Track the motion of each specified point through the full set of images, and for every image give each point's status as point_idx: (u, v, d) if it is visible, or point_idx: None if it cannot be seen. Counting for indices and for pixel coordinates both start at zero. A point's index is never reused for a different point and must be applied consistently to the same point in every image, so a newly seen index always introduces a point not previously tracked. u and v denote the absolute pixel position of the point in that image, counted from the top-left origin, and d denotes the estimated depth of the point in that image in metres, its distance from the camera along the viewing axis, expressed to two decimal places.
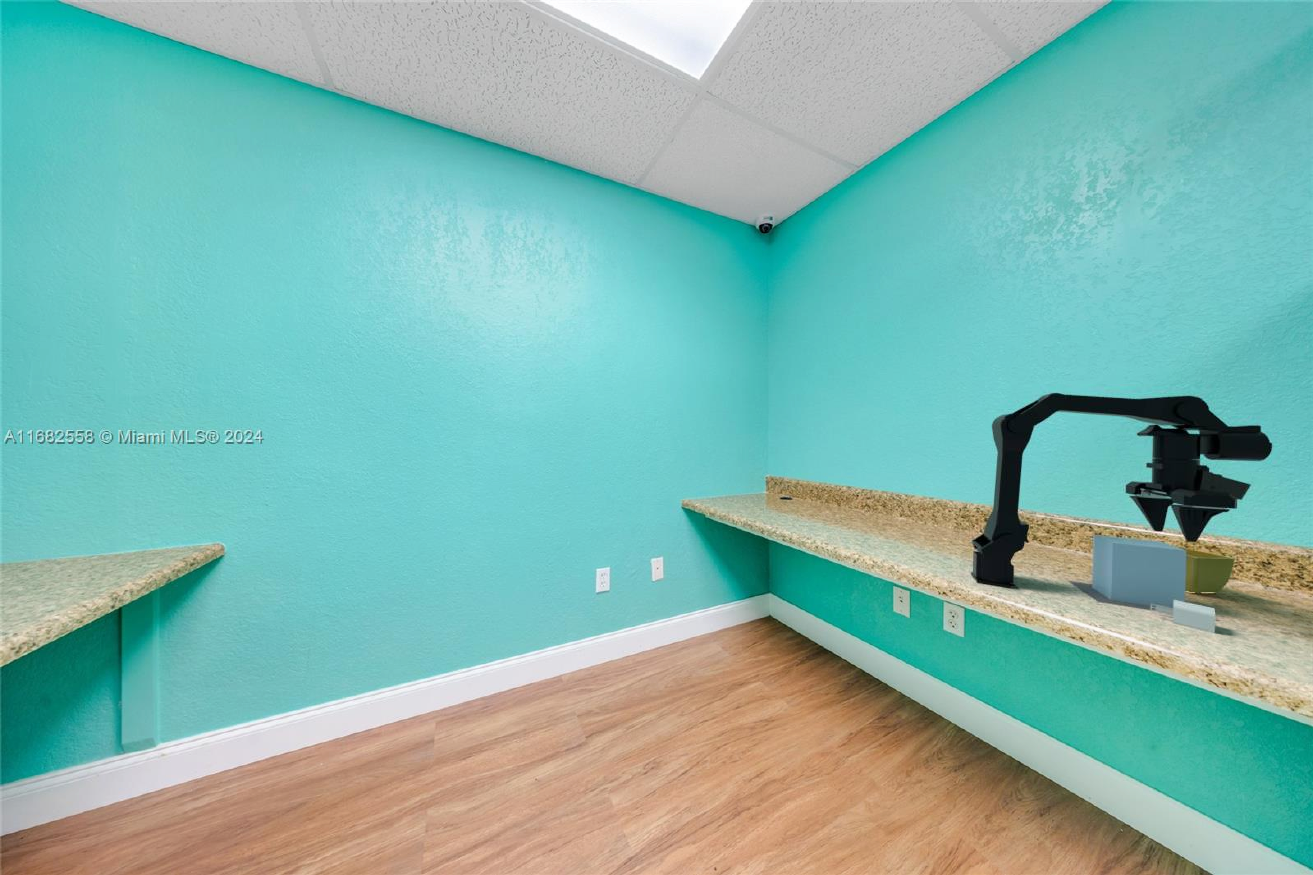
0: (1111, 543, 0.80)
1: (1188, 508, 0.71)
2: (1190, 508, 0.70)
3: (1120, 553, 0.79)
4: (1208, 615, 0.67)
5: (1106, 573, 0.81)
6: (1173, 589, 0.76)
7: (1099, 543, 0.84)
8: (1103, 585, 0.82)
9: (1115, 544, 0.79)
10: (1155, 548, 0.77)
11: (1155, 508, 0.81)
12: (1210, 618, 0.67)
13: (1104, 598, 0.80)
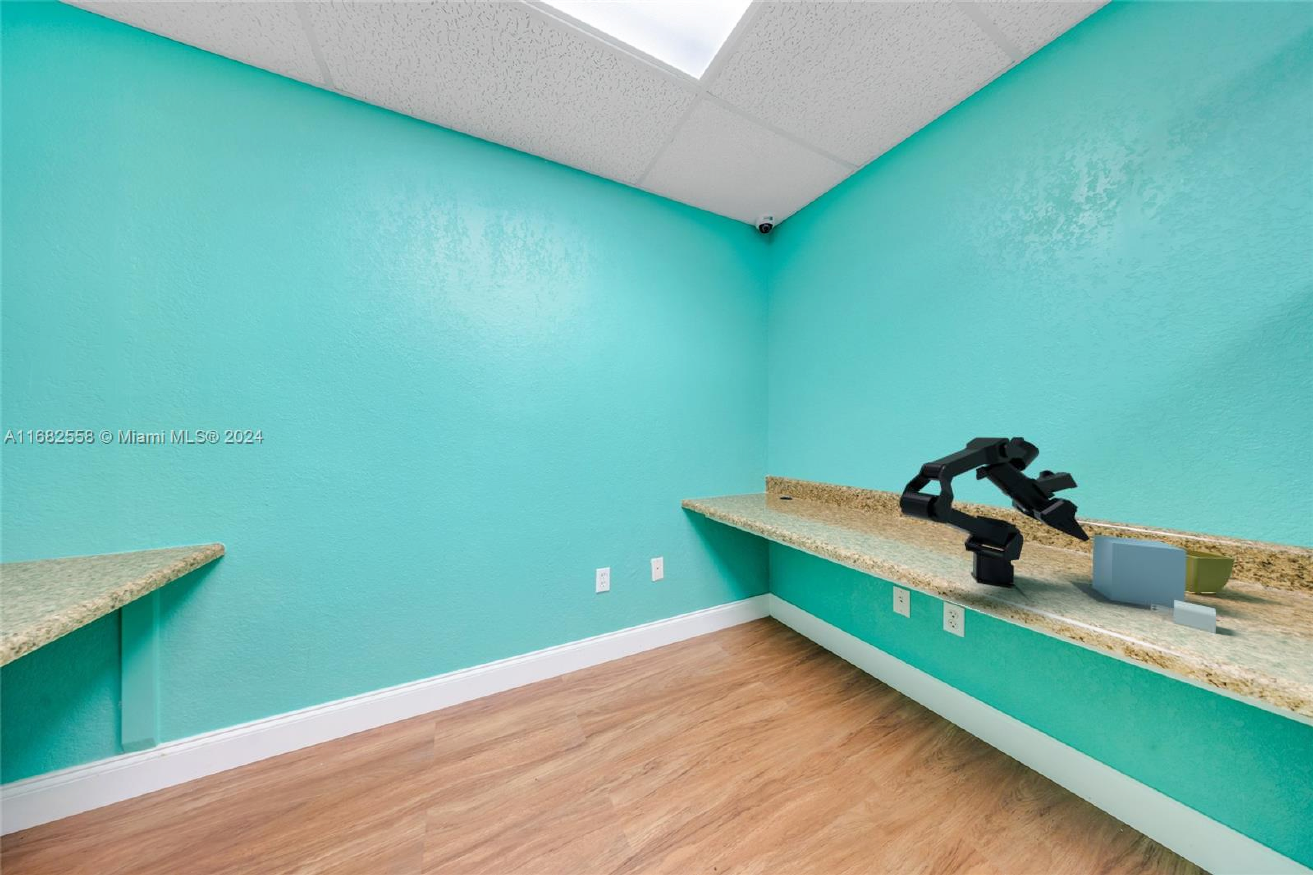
0: (1111, 543, 0.80)
1: (1054, 524, 0.81)
2: (1055, 523, 0.80)
3: (1120, 553, 0.79)
4: (1209, 615, 0.67)
5: (1106, 573, 0.81)
6: (1173, 589, 0.76)
7: (1099, 543, 0.84)
8: (1103, 585, 0.82)
9: (1115, 544, 0.79)
10: (1155, 548, 0.77)
11: None
12: (1211, 618, 0.67)
13: (1104, 598, 0.80)
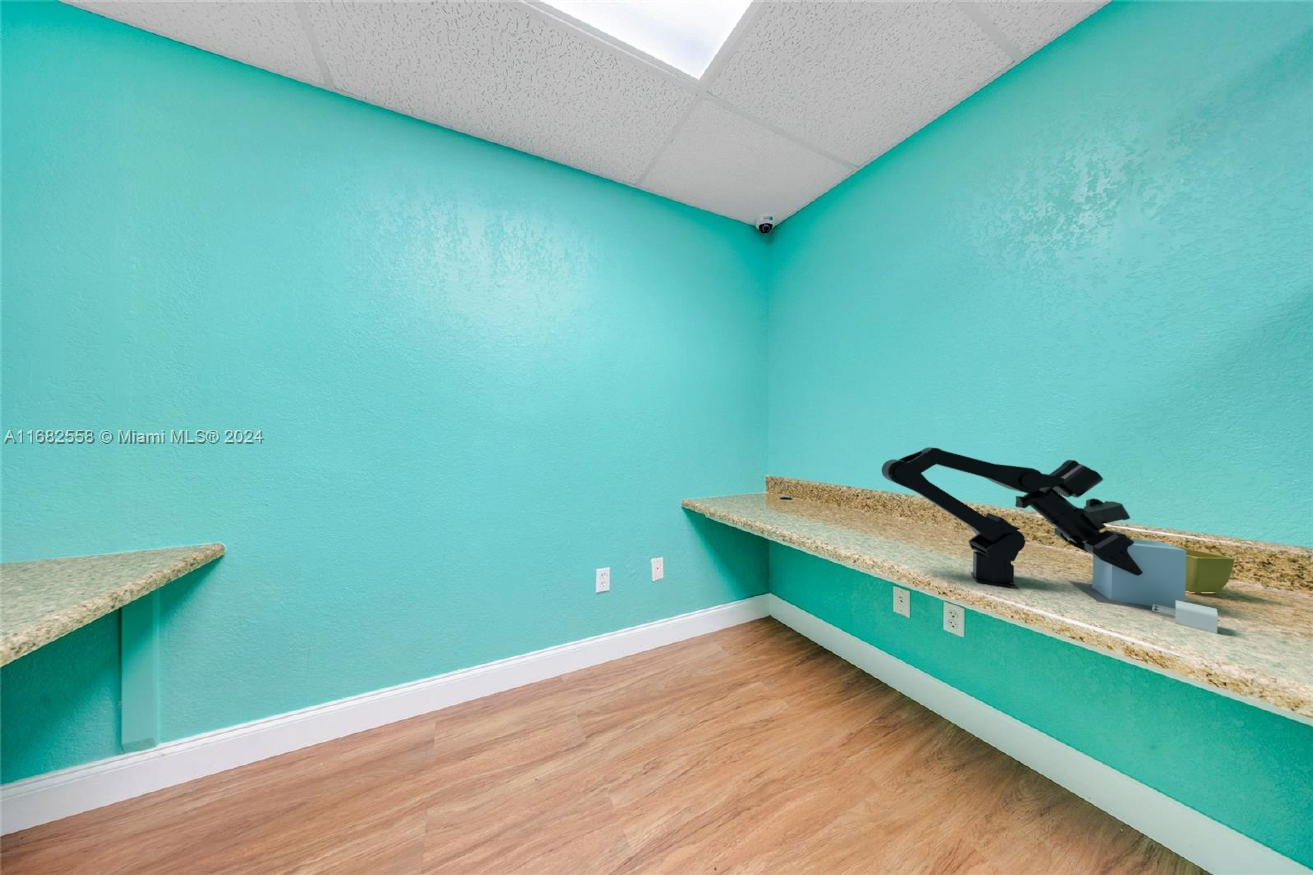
0: None
1: None
2: None
3: None
4: (1210, 616, 0.67)
5: (1106, 573, 0.81)
6: (1173, 589, 0.76)
7: None
8: (1103, 585, 0.82)
9: None
10: (1155, 548, 0.77)
11: None
12: (1213, 619, 0.66)
13: (1104, 598, 0.80)
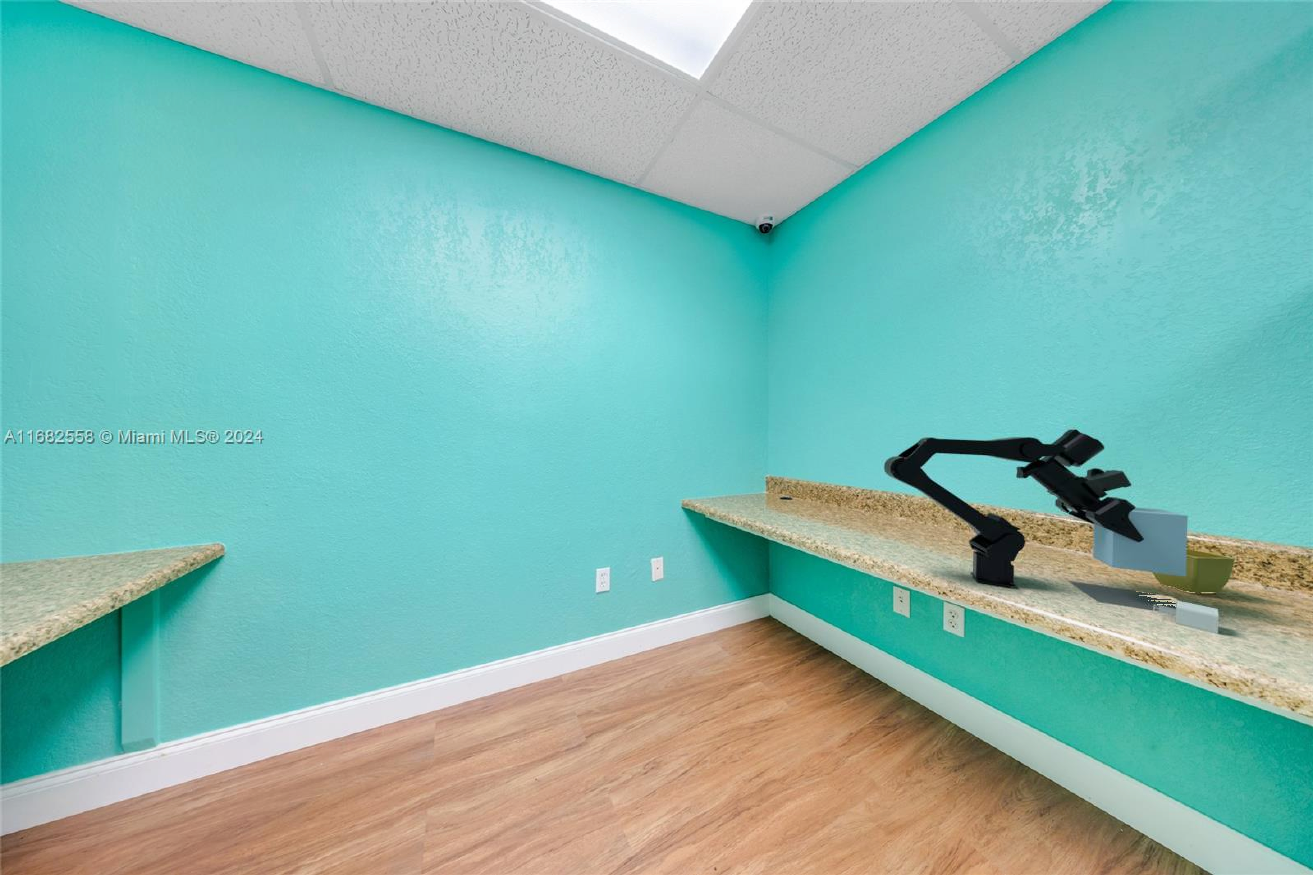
0: None
1: None
2: None
3: None
4: (1211, 616, 0.67)
5: (1107, 541, 0.81)
6: (1174, 555, 0.75)
7: None
8: (1104, 553, 0.82)
9: None
10: (1156, 514, 0.76)
11: None
12: (1214, 619, 0.66)
13: (1104, 598, 0.80)
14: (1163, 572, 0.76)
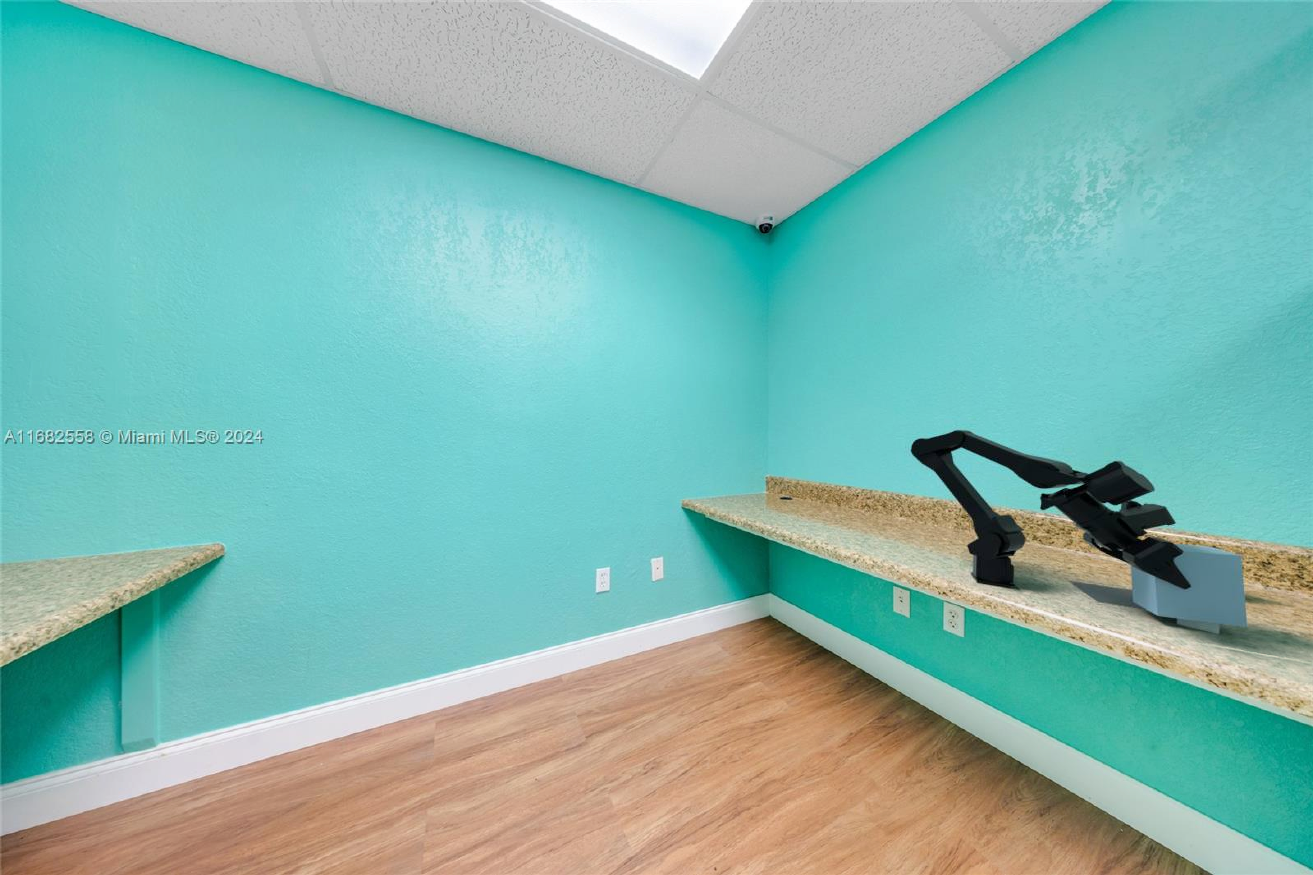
0: None
1: None
2: None
3: None
4: None
5: (1148, 585, 0.71)
6: (1231, 601, 0.65)
7: None
8: (1146, 599, 0.72)
9: None
10: (1204, 554, 0.67)
11: None
12: None
13: (1104, 598, 0.80)
14: (1219, 622, 0.66)
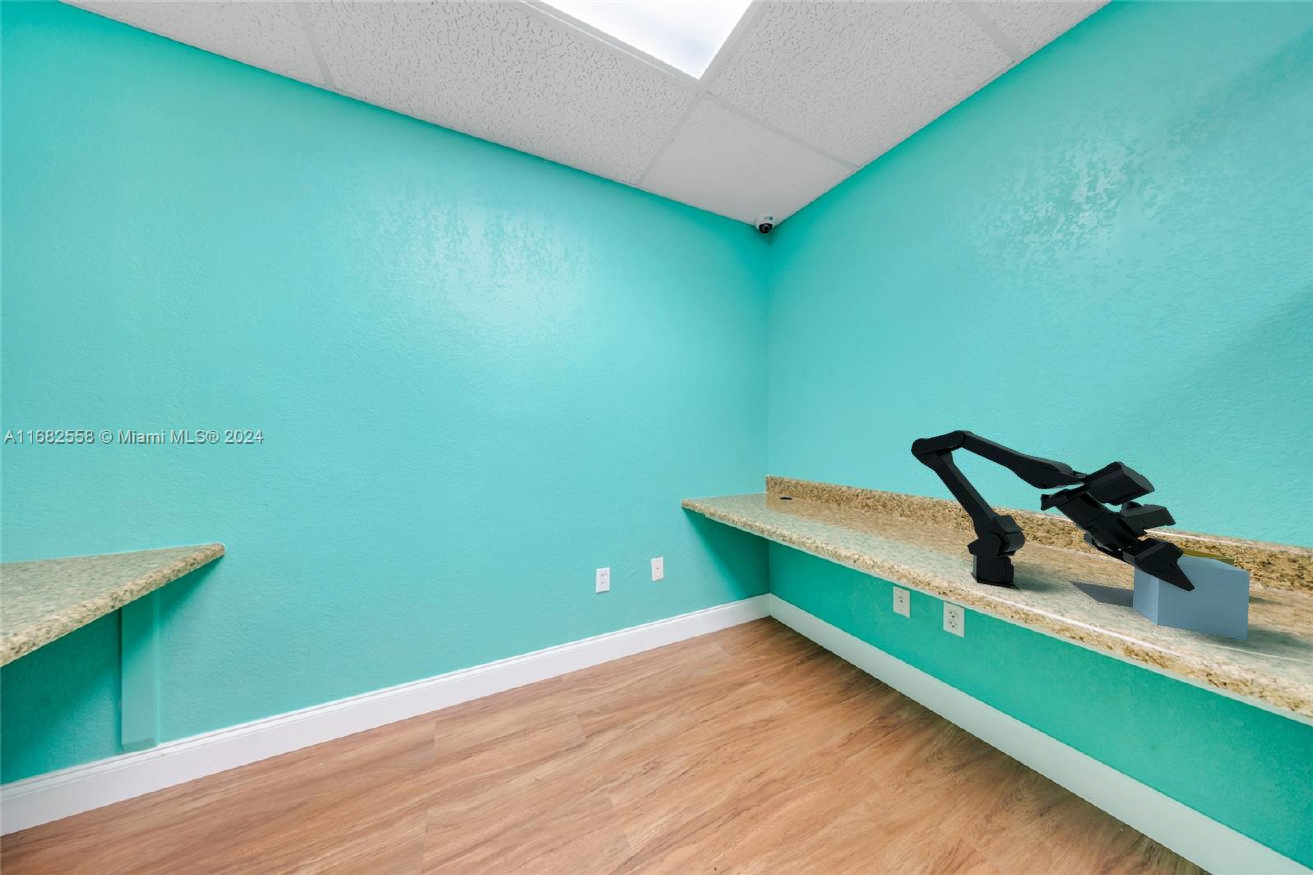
0: None
1: (1152, 571, 0.67)
2: (1153, 570, 0.67)
3: None
4: None
5: (1151, 596, 0.71)
6: (1233, 617, 0.65)
7: None
8: (1147, 609, 0.72)
9: None
10: (1211, 569, 0.66)
11: None
12: None
13: (1104, 598, 0.80)
14: None
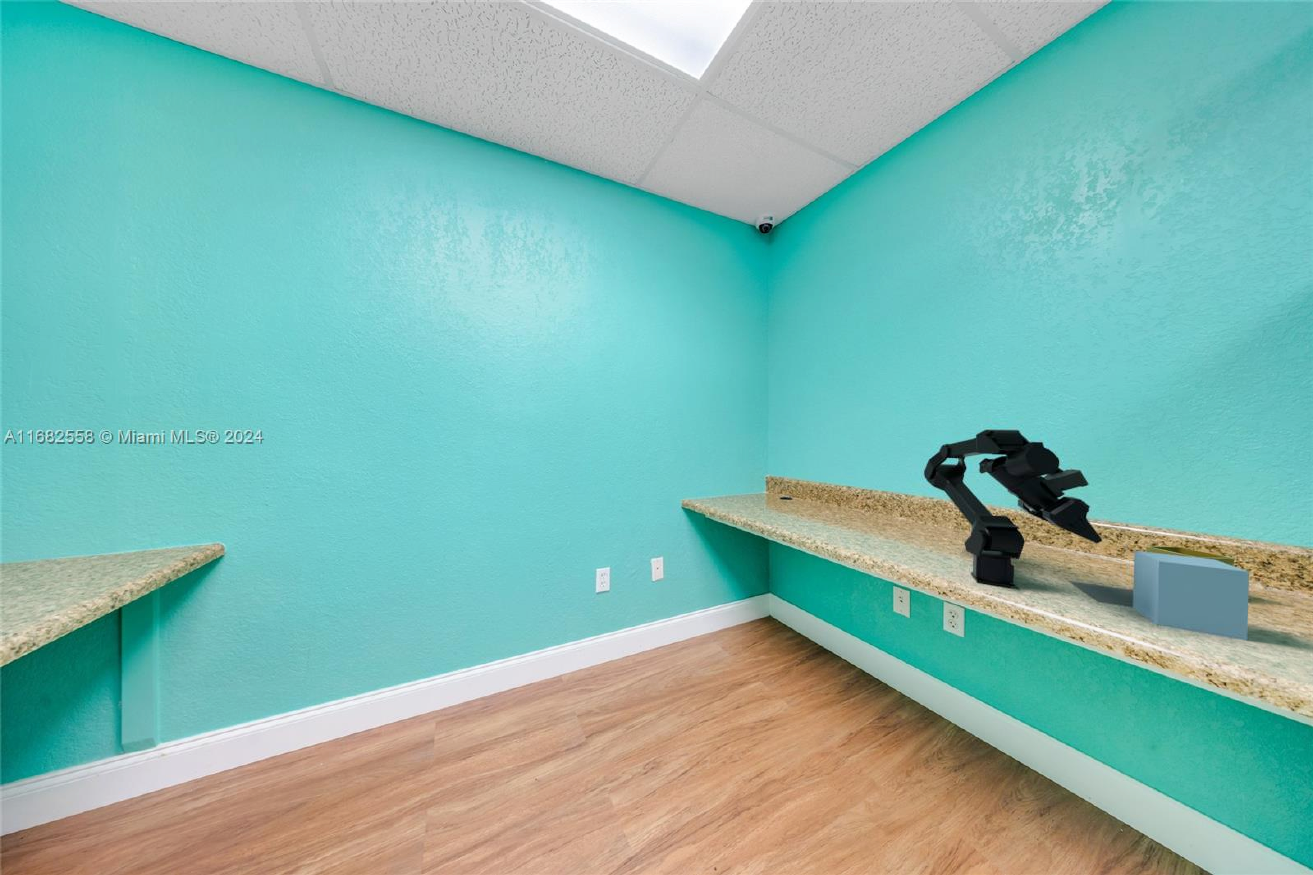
0: (1157, 561, 0.69)
1: (1064, 525, 0.75)
2: (1065, 524, 0.75)
3: (1168, 573, 0.68)
4: None
5: (1151, 596, 0.71)
6: (1233, 617, 0.65)
7: (1142, 560, 0.73)
8: (1147, 609, 0.72)
9: (1162, 563, 0.69)
10: (1211, 568, 0.66)
11: None
12: None
13: (1104, 598, 0.80)
14: None
